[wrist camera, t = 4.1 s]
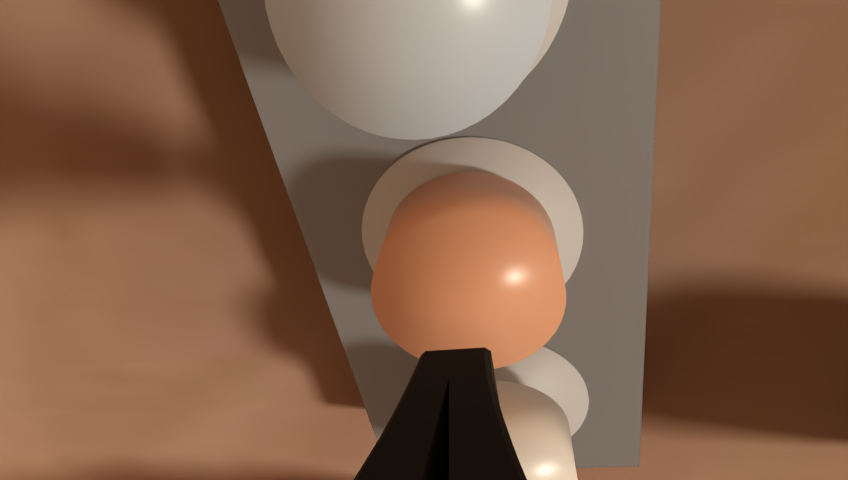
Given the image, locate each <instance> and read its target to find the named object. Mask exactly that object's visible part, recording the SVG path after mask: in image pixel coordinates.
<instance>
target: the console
mask: <svg viewBox="0 0 848 480" xmlns="http://www.w3.org/2000/svg"><path fill="white" fill-rule="evenodd" d="M218 3H219V6H220V8H221V11H222V14H223V17H224V19H225V22H226V25H227V28H228V30H229V33H230V36H231V39H232V41H233V44H234V47H235V50H236V52H237V55H238V58H239V61H240V64H241V66H242V69H243V72H244V75H245V77H246V80H247V83H248V86H249V88H250V91H251V94H252V97H253V99H254V102H255V105H256V108H257V110H258V113H259V116H260V119H261V121H262V124H263V127H264V130H265V133H266V135H267V138H268V141H269V144H270V146H271V149H272V152H273V155H274V157H275V160H276V163H277V166H278V168H279V171H280V174H281V177H282V179H283V182H284V185H285V188H286V190H287V193H288V196H289V199H290V202H291V204H292V207H293V210H294V213H295V215H296V218H297V221H298V224H299V226H300V229H301V232H302V235H303V237H304V240H305V243H306V246H307V248H308V251H309V254H310V257H311V259H312V262H313V265H314V268H315V271H316V273H317V276H318V279H319V282H320V284H321V287H322V290H323V293H324V295H325V298H326V301H327V304H328V306H329V309H330V312H331V315H332V317H333V320H334V323H335V326H336V328H337V331H338V334H339V337H340V340H341V342H342V345H343V348H344V351H345V353H346V356H347V359H348V362H349V364H350V367H351V370H352V373H353V375H354V378H355V381H356V384H357V386H358V389H359V392H360V395H361V397H362V400H363V403H364V406H365V409H366V411H367V414H368V417H369V420H370V422H371V425H372V428H373V431H374V433H375V436H376V439H377V441H378V440H379V438H380V436H381V434H382V432H383V431H384V429H385V427H386V425H387V423H388V421H389V420H390V418H391V416H392V414H393V412H394V411H395V409H396V407H397V405H398V403H399V401H400V399H401V397H402V395H403V393H404V391H405V389H406V387H407V385H408V383H409V381H410V379H411V377H412V374H413V372H414V370H415V368H416V366H417V363H418V361H419V358H417V357H415V356H413V355H411V354H410V353H408V352H407V351H405V350H404V349H402V348H401V347H400V346H399V345H397V344H396V343H395V342H394V341H393V340H392V339H391V338H390V337H389V336H388V335H387V333H386V332H385V331H384V329H383V328H382V326H381V325H380V323H379V321H378V319H377V317H376V315H375V312H374V310H373V305H372V301H371V282H372V277H373V274H374V270H375V267H376V264H377V261H378V258H379V254H380V251H381V248H382V245H383V242H384V238H385V235H386V232H387V229H388V226H389V223H390V220H391V218H392V215H393V213H394V211H395V210H396V208H397V207H398V205H399V204H400V202H401V201H402V200H403V199H404V198H405V197H406V196H407V195H408V194H409V193H410V192H411V191H413V190H414V189H415V188H417V187H418V186H420V185H421V184H423V183H425V182H427V181H429V180H431V179H434V178H436V177H440V176H443V175H446V174H452V173H458V172H481V173H487V174H493V175H496V176H499V177H503V178H505V179H508V180H510V181H512V182H514V183H516V184H518V185H519V186H521V187H523V188H524V189H526V190H527V191H528V192H529V193H531V194H532V195H533V196H534V197H535V198H536V199H537V200H538V201H539V202H540V203H541V205H542V206H543V208H544V209H545V210H546V212H547V214H548V216H549V218H550V220H551V222H552V225H553V229H554V232H555V237H556V242H557V247H558V252H559V257H560V262H561V267H562V272H563V277H564V282H565V288H566V307H565V312H564V315H563V318H562V321H561V323H560V325H559V327H558V329H557V330H556V332H555V333H554V335H553V336H552V337H551V338H550V340H549V341H548V342H547V343H546V344H545V345H544V346H543V347H542V348H540V349H539V350H538V351H536V352H535V353H533V354H532V355H530V356H528V357H527V358H525V359H523V360H521V361H518V362H516V363H514V364H511V365H508V366H504V367H501V368H496V369H494V373H495V379H496V381H507V382H513V383H519V384H522V385H526V386H529V387H532V388H534V389H537V390H539V391H541V392H543V393H545V394H546V395H548V396H549V397H550V398H552V399H553V400H554V401H555V402H556V403H558V405H559V406H560V407H561V408H562V409H563V411H564V413H565V414H566V416H567V419H568V422H569V428H570V435H571V441H572V448H573V454H574V461H575V467H576V468H594V467H639V462H640V440H641V418H642V397H643V375H644V353H645V332H646V310H647V288H648V266H649V245H650V223H651V201H652V180H653V158H654V136H655V115H656V93H657V71H658V50H659V28H660V6H661V0H552V4H551V12H550V18H549V22H548V26H547V30H546V34H545V37H544V40H543V43H542V45H541V48H540V50H539V53H538V55H537V57H536V59H535V61H534V63H533V65H532V67H531V69H530V70H529V72H528V74H527V75H526V77H525V78H524V79H523V81H522V82H521V84H520V85H519V87H518V88H517V89H516V90H515V91H514V92H513V93H512V95H511V96H510V97H509V98H508V99H507V100H506V101H505V102H504V103H503V104H502V105H501V106H499V107H498V108H497V109H496V110H495V111H494V112H492V113H491V114H490V115H488V116H486V117H485V118H483V119H482V120H480V121H479V122H477V123H475V124H473V125H471V126H469V127H467V128H465V129H463V130H461V131H458V132H455V133H452V134H449V135H446V136H441V137H436V138H431V139H419V140H406V139H394V138H389V137H383V136H379V135H376V134H372V133H369V132H366V131H363V130H361V129H359V128H357V127H354V126H352V125H350V124H348V123H347V122H345V121H343V120H341V119H340V118H338V117H336V116H335V115H334V114H332V113H331V112H330V111H328V110H327V109H326V108H324V107H323V106H322V105H321V104H320V103H319V102H317V101H316V100H315V99H314V98H313V97H312V96H311V95H310V94H309V93H308V92H307V91H306V89H305V88H304V87H303V86H302V85H301V83H300V82H299V81H298V80H297V78H296V77H295V75H294V74H293V72H292V71H291V69H290V68H289V66H288V65H287V63H286V61H285V59H284V57H283V55H282V54H281V52H280V50H279V48H278V45H277V43H276V40H275V38H274V35H273V32H272V30H271V27H270V23H269V19H268V15H267V11H266V6H265V0H218Z"/></svg>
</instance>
